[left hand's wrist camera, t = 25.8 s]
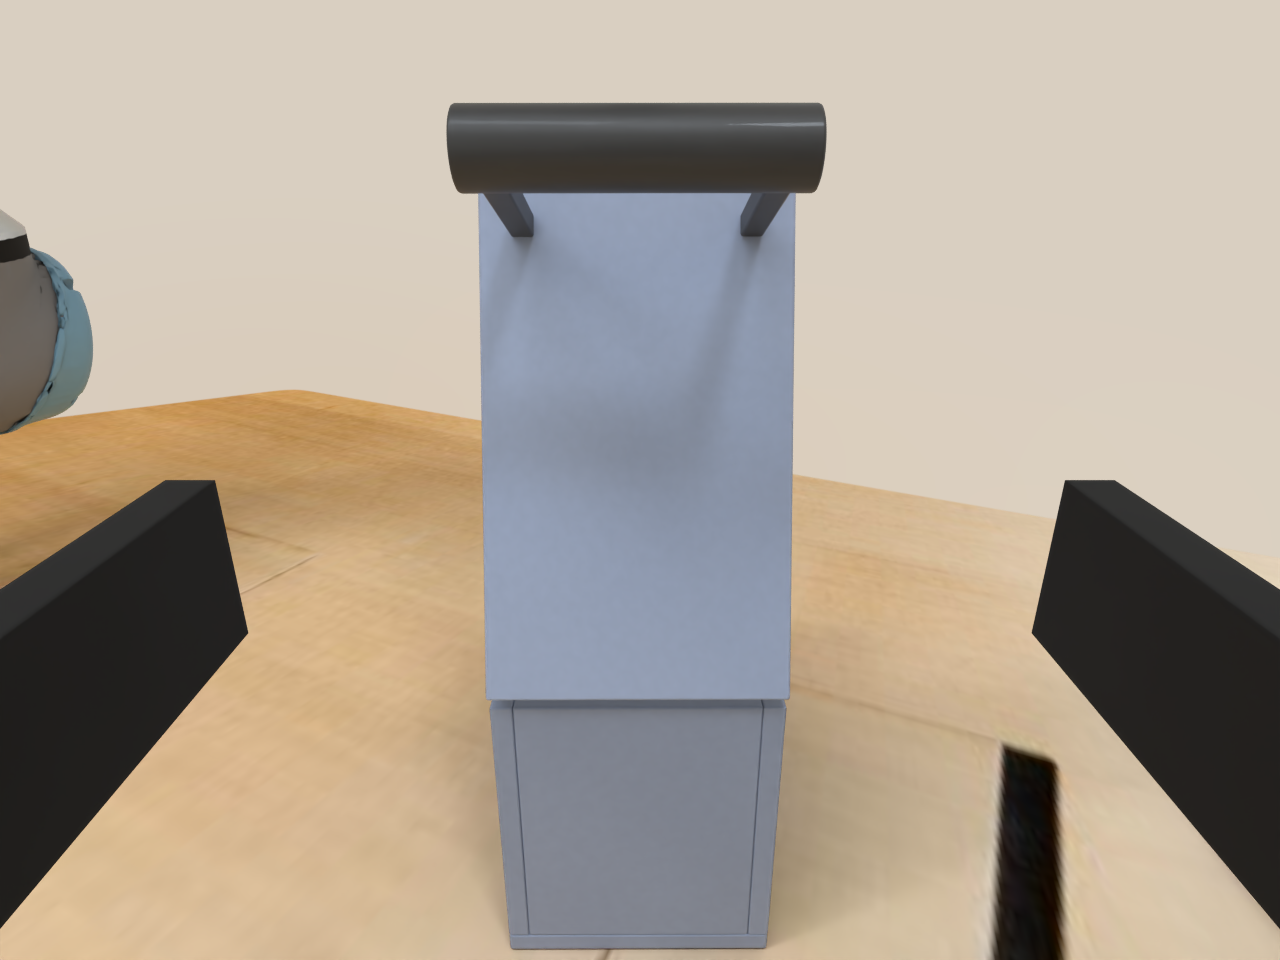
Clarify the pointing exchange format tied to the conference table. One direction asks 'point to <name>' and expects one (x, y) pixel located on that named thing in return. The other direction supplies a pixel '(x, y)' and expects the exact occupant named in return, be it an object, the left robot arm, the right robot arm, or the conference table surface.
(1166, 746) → the left robot arm
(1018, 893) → the conference table surface
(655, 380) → the lid
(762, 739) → the chest
